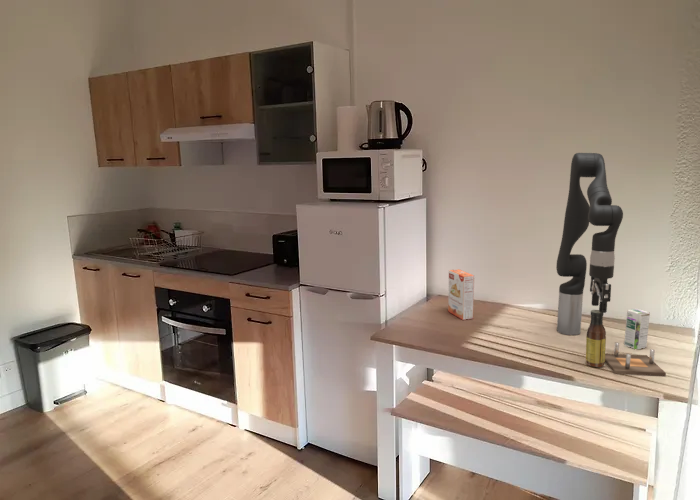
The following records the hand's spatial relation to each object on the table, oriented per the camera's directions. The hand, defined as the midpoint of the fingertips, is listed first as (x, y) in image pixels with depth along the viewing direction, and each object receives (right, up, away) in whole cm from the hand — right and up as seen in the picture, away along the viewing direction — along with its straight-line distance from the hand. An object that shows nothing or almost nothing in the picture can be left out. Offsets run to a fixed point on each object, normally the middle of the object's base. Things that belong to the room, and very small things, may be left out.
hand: (598, 308), depth 180 cm
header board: (+13, -20, +3) cm, 24 cm away
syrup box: (+24, -17, +21) cm, 36 cm away
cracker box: (-35, -11, +63) cm, 73 cm away
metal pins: (+14, -19, +2) cm, 24 cm away
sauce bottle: (0, -21, +4) cm, 21 cm away
